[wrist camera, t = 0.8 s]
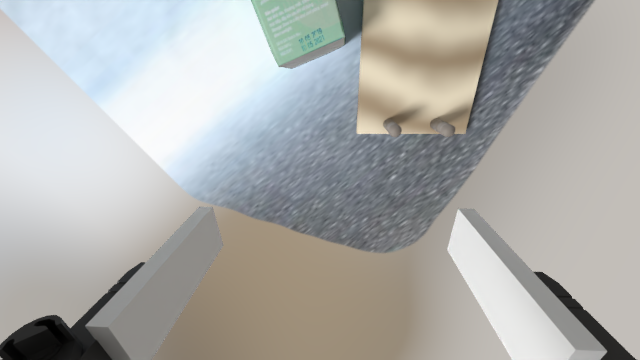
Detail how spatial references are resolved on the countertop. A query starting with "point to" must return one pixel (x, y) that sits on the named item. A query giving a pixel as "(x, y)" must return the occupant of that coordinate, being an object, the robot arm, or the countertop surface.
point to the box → (300, 29)
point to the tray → (421, 64)
